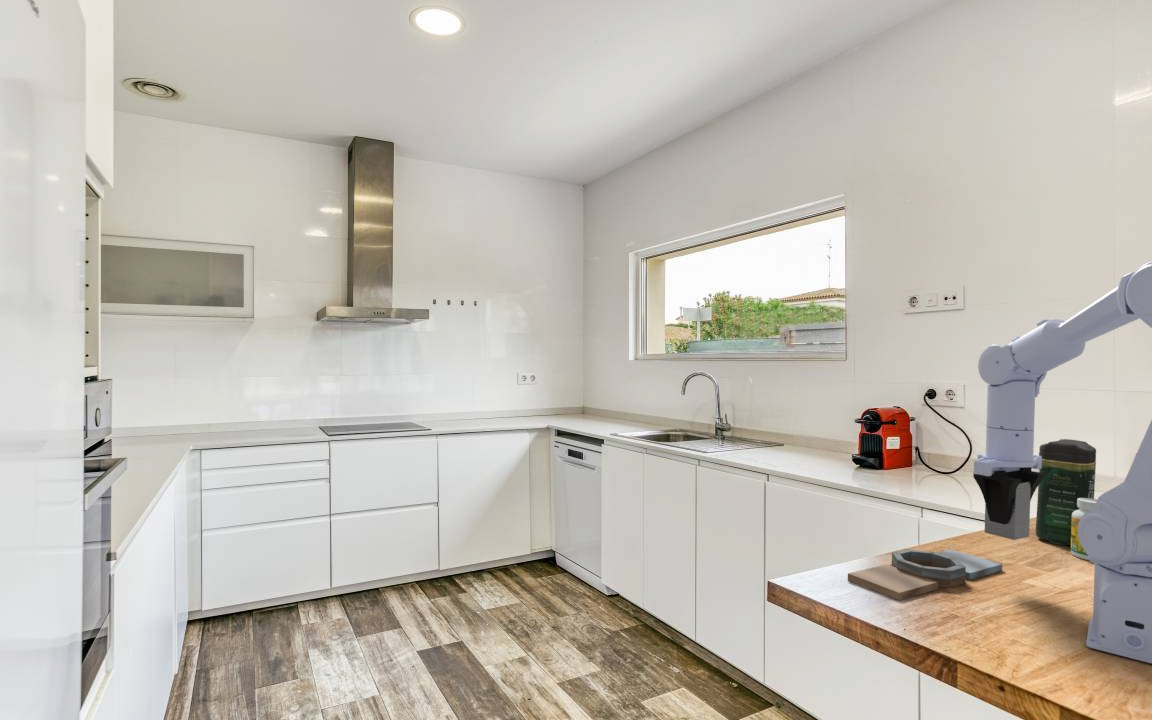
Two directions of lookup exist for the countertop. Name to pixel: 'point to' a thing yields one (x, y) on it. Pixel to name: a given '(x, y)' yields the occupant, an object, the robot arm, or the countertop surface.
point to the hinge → (923, 572)
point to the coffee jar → (1063, 486)
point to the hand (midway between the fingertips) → (1006, 520)
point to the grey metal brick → (1014, 516)
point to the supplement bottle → (1084, 507)
